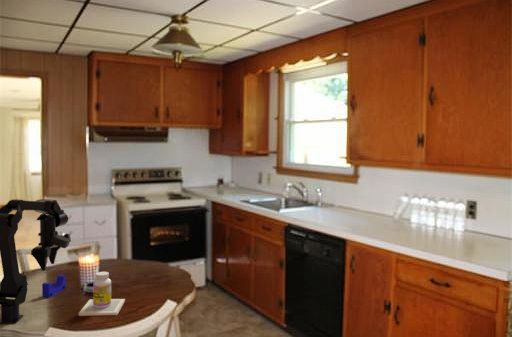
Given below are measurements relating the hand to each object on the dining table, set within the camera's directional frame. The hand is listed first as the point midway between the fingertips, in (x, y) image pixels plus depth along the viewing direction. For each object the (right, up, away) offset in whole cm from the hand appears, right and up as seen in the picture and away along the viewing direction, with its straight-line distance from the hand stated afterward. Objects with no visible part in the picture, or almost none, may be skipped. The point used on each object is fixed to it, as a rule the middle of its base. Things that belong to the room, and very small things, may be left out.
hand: (48, 267), depth 177 cm
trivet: (+26, -14, -9) cm, 31 cm away
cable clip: (-2, -13, +7) cm, 15 cm away
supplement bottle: (+26, -13, -9) cm, 30 cm away
